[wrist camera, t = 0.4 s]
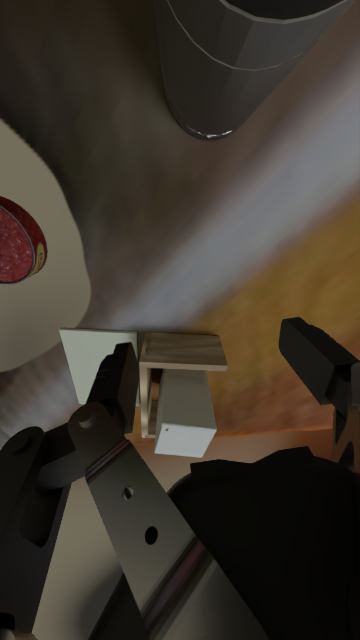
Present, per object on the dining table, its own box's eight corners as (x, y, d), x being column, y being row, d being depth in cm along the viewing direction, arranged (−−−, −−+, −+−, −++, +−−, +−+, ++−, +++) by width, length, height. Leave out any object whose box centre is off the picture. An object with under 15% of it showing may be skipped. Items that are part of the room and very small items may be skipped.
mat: (60, 327, 33) (59, 329, 33) (136, 331, 34) (136, 333, 33) (80, 401, 42) (79, 403, 42) (139, 403, 43) (139, 406, 42)
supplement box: (158, 384, 40) (151, 454, 29) (166, 355, 36) (161, 423, 26) (195, 389, 41) (202, 459, 30) (206, 362, 37) (218, 430, 26)
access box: (146, 332, 34) (139, 361, 28) (219, 336, 34) (227, 366, 28) (147, 403, 43) (142, 437, 37) (204, 406, 44) (208, 439, 38)
